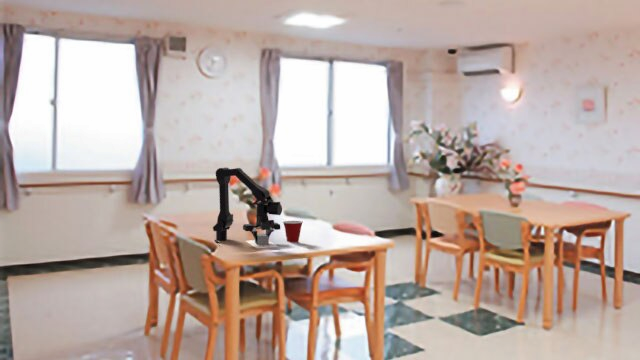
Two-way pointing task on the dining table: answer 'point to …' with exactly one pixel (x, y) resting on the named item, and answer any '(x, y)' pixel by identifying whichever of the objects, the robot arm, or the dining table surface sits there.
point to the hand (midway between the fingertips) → (261, 243)
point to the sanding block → (262, 239)
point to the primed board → (261, 245)
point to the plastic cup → (292, 230)
